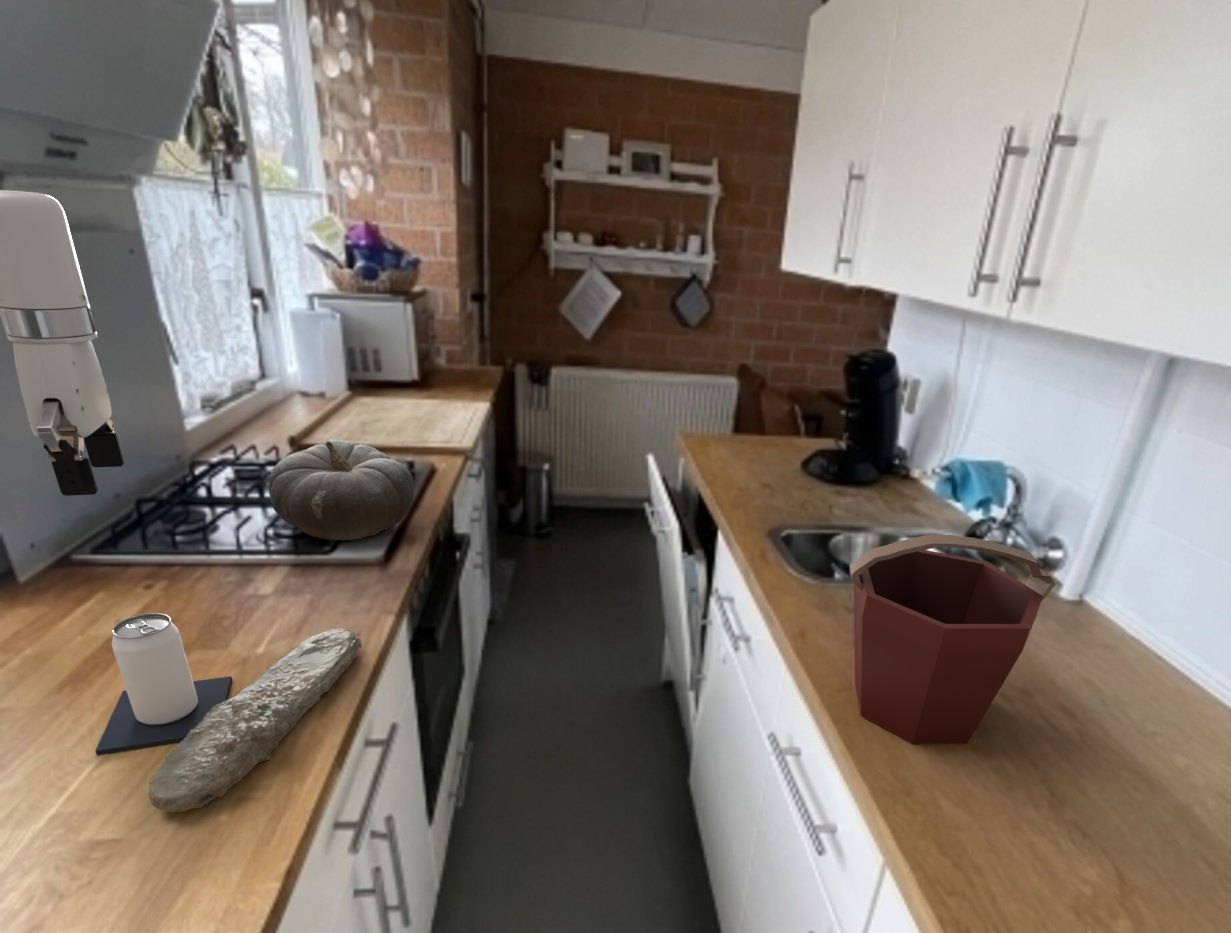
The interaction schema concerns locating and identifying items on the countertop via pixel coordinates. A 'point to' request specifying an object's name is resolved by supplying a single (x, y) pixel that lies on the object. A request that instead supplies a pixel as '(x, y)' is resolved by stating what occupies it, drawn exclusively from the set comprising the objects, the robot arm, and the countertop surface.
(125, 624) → the can
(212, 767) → the long grey stone
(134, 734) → the mat
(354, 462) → the gourd
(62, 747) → the countertop surface
